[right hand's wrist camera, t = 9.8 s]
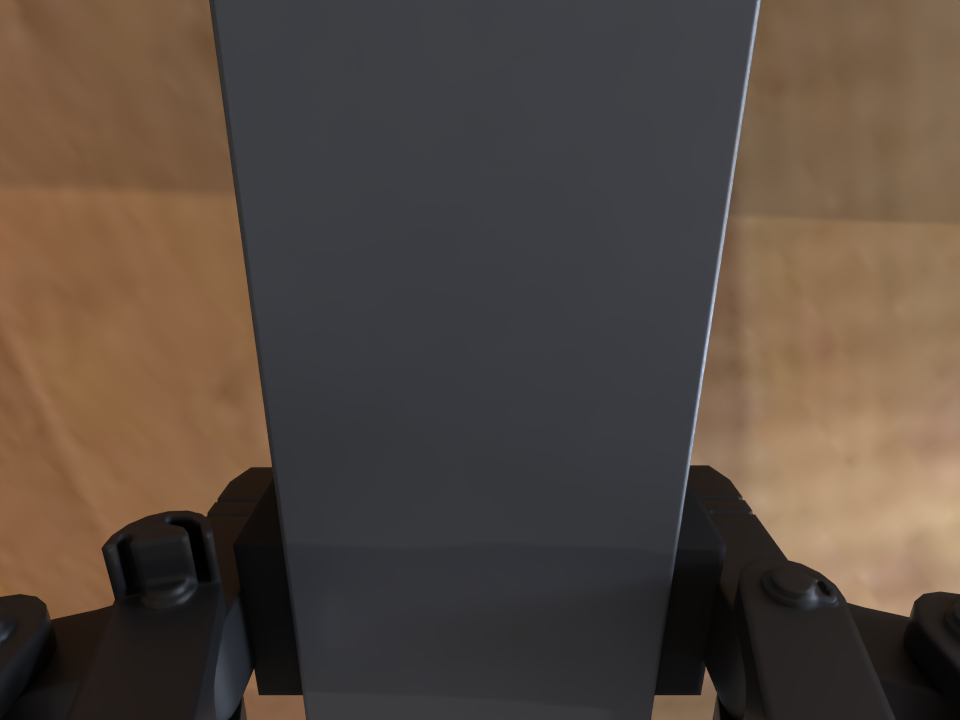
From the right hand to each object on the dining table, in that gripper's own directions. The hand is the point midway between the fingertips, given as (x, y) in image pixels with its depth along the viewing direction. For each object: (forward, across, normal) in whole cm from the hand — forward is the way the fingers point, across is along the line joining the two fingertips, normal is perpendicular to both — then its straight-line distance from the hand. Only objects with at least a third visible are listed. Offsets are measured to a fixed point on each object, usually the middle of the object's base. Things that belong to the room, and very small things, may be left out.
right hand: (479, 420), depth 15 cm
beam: (0, 0, -20) cm, 20 cm away
